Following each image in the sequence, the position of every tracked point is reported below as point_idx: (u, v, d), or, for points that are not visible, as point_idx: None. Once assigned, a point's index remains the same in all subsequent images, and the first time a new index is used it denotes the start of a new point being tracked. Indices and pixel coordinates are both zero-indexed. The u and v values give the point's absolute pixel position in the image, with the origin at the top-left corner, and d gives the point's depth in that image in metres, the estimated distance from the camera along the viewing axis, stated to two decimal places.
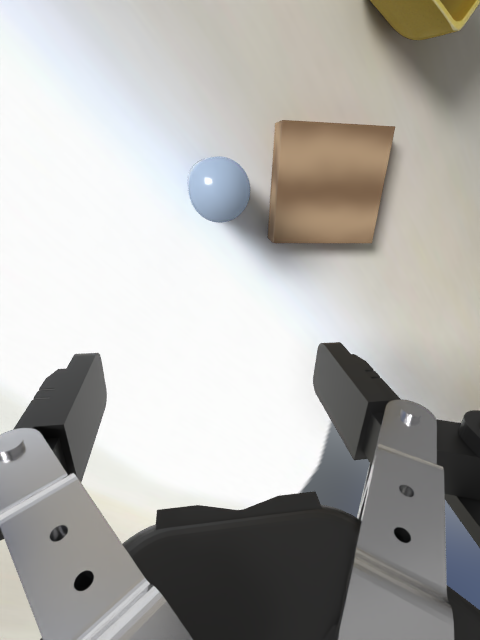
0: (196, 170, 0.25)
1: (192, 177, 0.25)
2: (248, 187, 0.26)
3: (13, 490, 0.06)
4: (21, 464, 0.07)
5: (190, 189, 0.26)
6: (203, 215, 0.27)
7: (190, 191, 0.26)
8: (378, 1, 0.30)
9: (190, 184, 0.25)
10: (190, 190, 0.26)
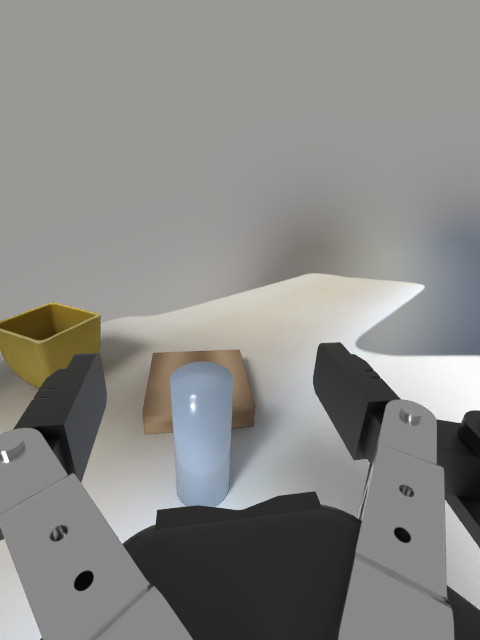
0: (183, 394, 0.24)
1: (190, 396, 0.23)
2: (197, 362, 0.27)
3: (13, 490, 0.06)
4: (20, 464, 0.07)
5: (202, 397, 0.23)
6: (228, 387, 0.25)
7: (204, 397, 0.23)
8: None
9: (197, 397, 0.23)
10: (203, 397, 0.23)
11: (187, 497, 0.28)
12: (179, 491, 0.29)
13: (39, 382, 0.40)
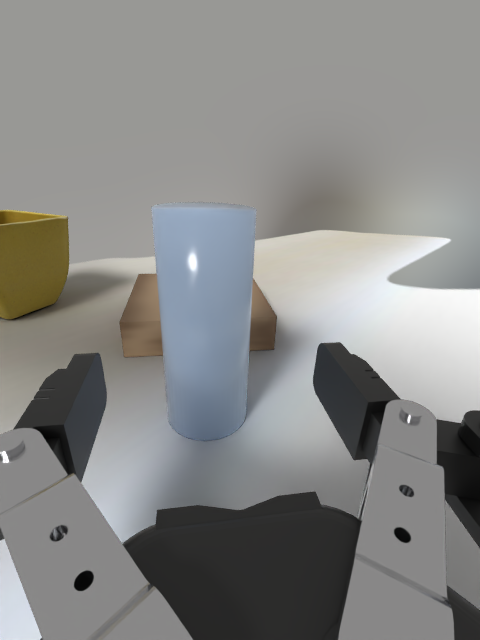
0: (173, 212, 0.14)
1: (185, 213, 0.13)
2: (196, 202, 0.17)
3: (13, 490, 0.06)
4: (21, 464, 0.07)
5: (206, 214, 0.13)
6: (249, 211, 0.15)
7: (210, 214, 0.13)
8: (25, 289, 0.30)
9: (197, 214, 0.13)
10: (208, 214, 0.13)
11: (183, 420, 0.18)
12: (171, 413, 0.19)
13: None
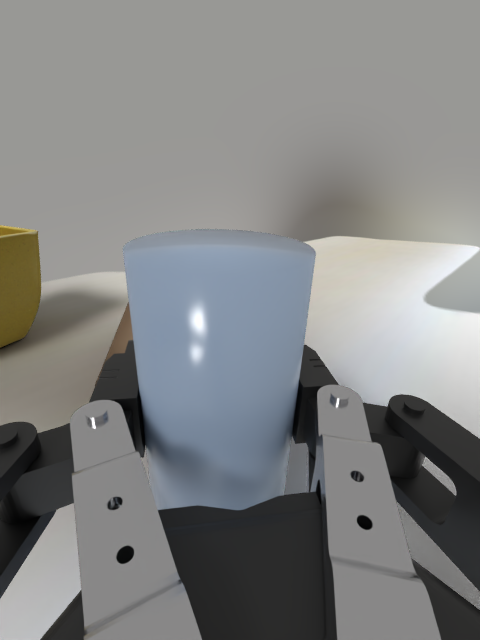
0: (160, 265, 0.07)
1: (185, 269, 0.07)
2: (204, 229, 0.10)
3: (110, 448, 0.07)
4: (101, 432, 0.08)
5: (230, 271, 0.06)
6: (307, 258, 0.08)
7: (237, 271, 0.07)
8: None
9: (211, 271, 0.06)
10: (233, 271, 0.06)
11: None
12: None
13: None
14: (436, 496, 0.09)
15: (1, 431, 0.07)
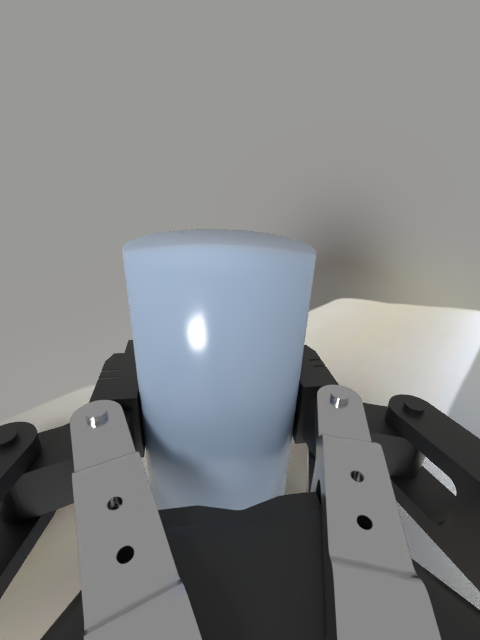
0: (160, 265, 0.07)
1: (185, 269, 0.06)
2: (204, 229, 0.10)
3: (110, 448, 0.07)
4: (101, 431, 0.08)
5: (229, 271, 0.06)
6: (307, 258, 0.08)
7: (237, 271, 0.06)
8: None
9: (211, 272, 0.06)
10: (233, 272, 0.06)
11: None
12: None
13: None
14: (436, 496, 0.09)
15: (1, 431, 0.07)
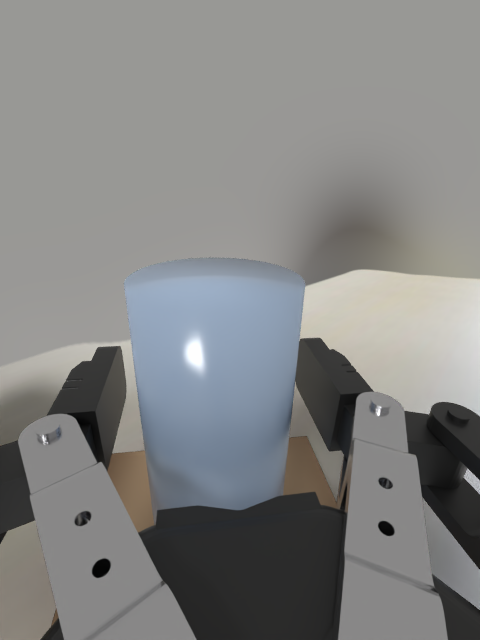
0: (159, 302, 0.07)
1: (182, 307, 0.07)
2: (201, 258, 0.11)
3: (56, 469, 0.07)
4: (55, 448, 0.07)
5: (223, 308, 0.07)
6: (296, 291, 0.08)
7: (230, 308, 0.07)
8: None
9: (206, 309, 0.07)
10: (226, 308, 0.07)
11: None
12: None
13: None
14: (476, 510, 0.08)
15: None
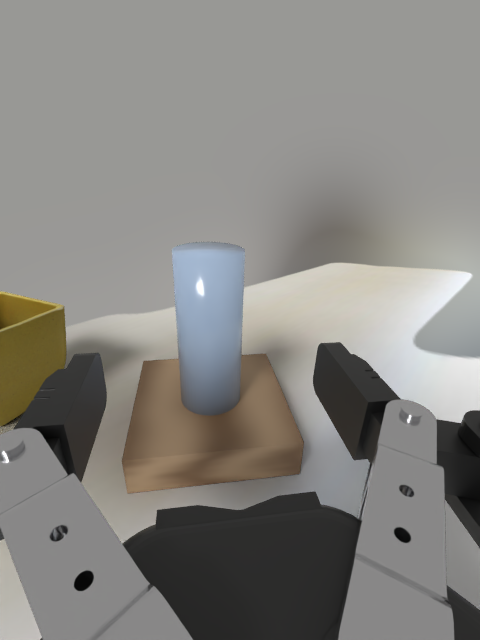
0: (187, 256, 0.20)
1: (195, 258, 0.20)
2: (202, 242, 0.24)
3: (13, 490, 0.06)
4: (21, 464, 0.07)
5: (210, 258, 0.20)
6: (239, 254, 0.21)
7: (212, 258, 0.20)
8: (16, 395, 0.27)
9: (204, 258, 0.20)
10: (211, 258, 0.20)
11: (193, 400, 0.25)
12: (184, 396, 0.25)
13: None
14: None
15: None
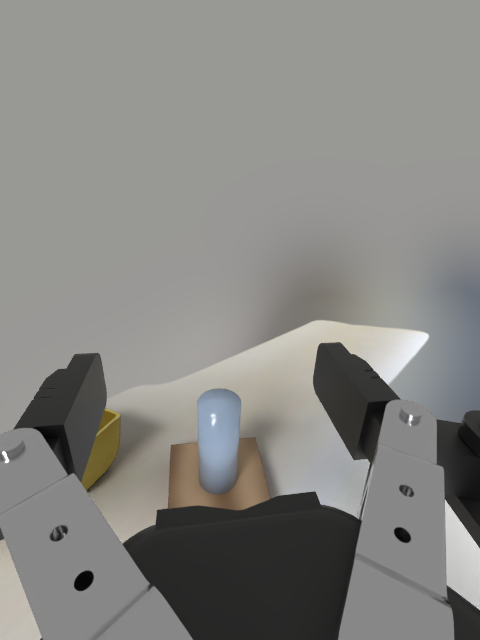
0: (207, 414, 0.35)
1: (212, 415, 0.35)
2: (215, 389, 0.39)
3: (13, 490, 0.06)
4: (20, 464, 0.07)
5: (220, 416, 0.35)
6: (237, 409, 0.36)
7: (221, 416, 0.35)
8: (92, 476, 0.41)
9: (217, 416, 0.35)
10: (221, 416, 0.35)
11: (207, 485, 0.39)
12: (201, 481, 0.40)
13: None
14: None
15: None
